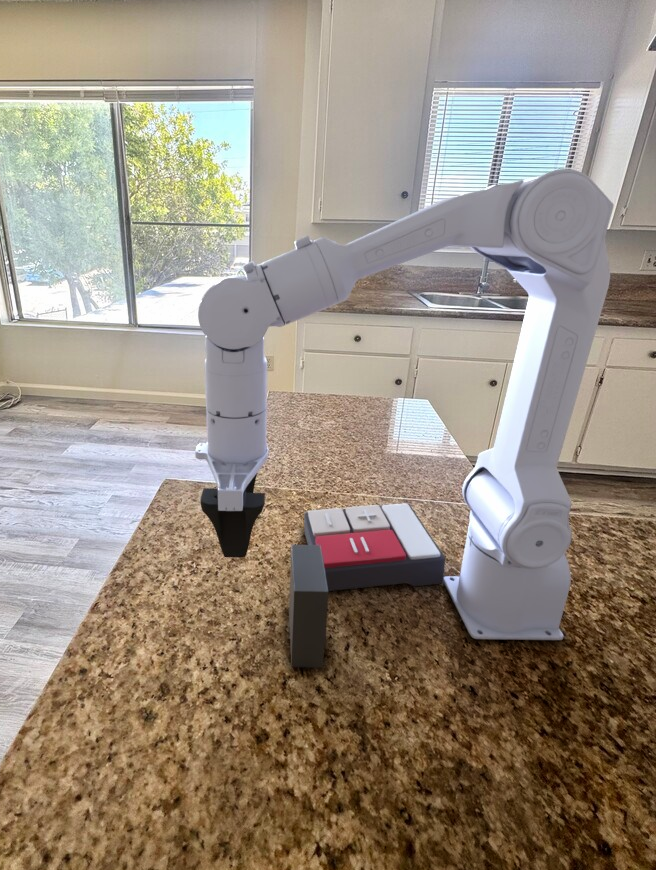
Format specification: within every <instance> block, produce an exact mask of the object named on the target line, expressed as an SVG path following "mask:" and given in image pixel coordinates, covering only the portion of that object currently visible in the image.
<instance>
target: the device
mask: <svg viewBox="0 0 656 870" xmlns="http://www.w3.org/2000/svg"><path fill="white" fill-rule="evenodd" d="M289 575H290V576H289V603H288V605H289V606H288V622H289V623H288V624H289V646H290V666H291V667H290V668H318V669H319V668H320V669H321V668H323V667H324V657H325V656H324V655H325V650H326V638H327V637H326V636H327V625H328V624H327V623H328V622H327V621H328V608H329V592H330V591H328V586H327V580H326V574H325V567H324V561H323V555H322V551H321V546H320V545H308V544H291V545H290V573H289Z"/></svg>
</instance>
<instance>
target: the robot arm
mask: <svg viewBox="0 0 656 870" xmlns="http://www.w3.org/2000/svg"><path fill="white" fill-rule="evenodd" d="M613 210H614V203H613V201H611V199H610V198H609V197H608V196H607V195H606V194H605V193H604V192H603V190H602V189H601V188H600V187H599V186H598V185H597V184H596V183H595V181H594V180H593V179H592V178H591V177H590V176H588V175H587V174H586V173H583V172H582V171H579V170H576V169H571V168H559V169H554V170H551V171H547V172H546V173H543V174H541V175H538V176H535V177H531V178H527V179H523V180H518V181H514V182H510V183H503V184H495V185H490V186H488V187H486V188H484V189H481V190H476V191H472V192H469V193H465V194H460V195H455V196H452V197H448V198H444V199H441V200H439V201H437V202H434V203H432V204H430V205H428V206H426V207H424V208H422V209H419V210H417V211H415V212H413V213H411V214H408V215H406V216H404V217H402V218H400V219H397V220H395V221H393V222H391V223H389V224H387V225H384V226H382V227H380V228H378V229H376V230H374V231H372V232H370V233H368V234H365V235H363V236H361V237H358V238H356V239H354V240H352V241H350V242H348V243H346V244H341V243H338V242H336V241H335V240H332V239H330V238H328V237H325V236H322V237H319V238H317V239H314V240H311V237H310V236H309V235H306V236H303V237H301V238H298V239H296V240H295V241H294V246H295V248H294V249H291V250H289V251H286V252H285V253H282V254H280V255H277V256H274V257H272V258H270V259H268V260H265V261H263V262H261V263H259V264H255V262H254V260H252V261H250V262H247V263H245V264H243V265H242V270H243V272H244V275H245V276H244V275H239V274H238V275H236V274H235V275H229V276H226V277H224V278H222V279H220V280H219V281H217V282H216V283H214V284H213V285H212V286H211V287H209V288H208V289H207V290H206V292H205V293H204V294H203V296H202V298H201V300H200V302H199V306H198V311H197V316H198V317H197V319H198V323H199V326H200V329H201V331H202V333H203V334H204V336H205V341H204V351H205V359H204V384H205V385H204V386H205V387H204V389H205V391H204V392H205V410H206V416H205V417H206V441H207V442H206V443H205V442H202V443H199V444H197V445H196V447H195V451H194V457H195V458H196V459H197V460H205V461H206V462H207V465H208V467H209V469H210V472H211V474H212V477H213V478H214V481H215V483H216V486H217V487H215V488H214V487H211V488H210V487H209V488H206V487H205V488H202V492H201V495H200V499H199V500H200V508H201V511H202V513H203V514H204V515H205V516H206V517H207V518H208V519H209V521H210V523H211V524H212V526H213V528H214V531H215V533H216V536H217V540H218V543H219V547H220V550H221V552H222V555H223V557H224V558H238V559H239V558H240V559H241V558H246V556H247V553H248V550H249V546H250V542H251V536H252V533H253V532H252V531H253V529H254V525H255V523H256V521H257V519H258V517H259V516H260V515H261V514H262V512H263V509H264V508H265V504H266V493H265V492H254V491H255V485H256V480H257V475H258V473H259V471H260V470H261V468H262V467H263V466H264V465H265V463H266V462H267V460H268V459H269V450H270V449H269V445H268V444H267V441H268V439H267V436H268V435H267V431H268V427H267V426H268V425H267V424H268V416H267V415H268V359H267V358H266V355H265V335H266V333H267V331H268V329H269V327H278V328H283V327H284V326H286V325H290V324H292V323H295V322H298V321H299V320H302V319H305V318H307V317H309V316H311V315H312V316H313V315H314V314H316V313H318V312H319V313H320V312H321V311H323V310H326V309H329V308H332V307H334V306H336V305H339V304H342V303H344V302H345V301H347V300H348V299H349V297H350V295H351V293H352V291H353V289H354V287H355V285H356V283H357V282H358V281H359V280H361V279H364V278H365V277H369V276H371V275H375V274H376V273H379V272H382V271H385V270H387V269H390V268H393V267H396V266H398V265H402V264H404V263H406V262H409V261H412V260H415V259H417V258H420V257H422V256H423V257H424V256H425V255H428V254H431V253H433V252H436V251H439V250H442V249H444V248H446V247H454V248H455V247H457V248H470V249H471V250H472V251H473V252H475V253H476V254H478V255H479V256H481V257H483V258H485V259H486V260H489V261H491V262H493V263H495V264H497V265H498V266H500V267H502V268H504V269H505V270H506V271H507V272H508V273H509V274H510V275H511V276H512V277H513V279H515V281H516V282H517V283H518V284H519V285H520V286H521V287H522V288H523V289H524V291H526V293H527V295H528V300H527V304H526V307H525V312H524V316H523V321H522V325H521V330H520V334H519V338H518V342H517V347H516V351H515V355H514V360H513V364H512V367H511V368H512V369H511V371H510V372H511V373H510V377H509V381H508V385H507V388H506V393H505V398H504V402H503V407H502V410H501V415H500V420H499V422H498V427H497V431H496V436H495V440H494V444H493V447H492V448H488V449H486V450H483V451H481V452H479V453H478V454H477V460H476V463H475V465H474V467H473V469H472V470H471V471H470V473H469V474H468V475H467V476H466V478H465V479H464V482H463V483H462V487H461V493H462V498H463V500H464V502H465V504H466V505H467V506H468V508H469V509H470V510H469V517H468V519H469V521H468V522H469V523H468V528H467V533H466V540H465V545H464V549H463V557H462V562H461V566H460V573H459V576H458V575H457V576H454V575H453V576H449V575H447V576H446V575H444V577H443V582H442V583H443V584H444V586H445V589H446V590H447V592H448V594H449V596H450V598H451V600H452V602H453V604H454V607H455V608H456V610H457V612H458V614H459V616H460V617H461V621H462V622H463V624H464V626H465V628H466V630H467V632H468V634H469V635H470V637H471V638H472V639H474V640H513V641H515V640H516V641H517V640H518V641H519V640H520V641H521V640H523V641H524V640H525V641H562V640H563V639H564V636H565V635H564V633H563V631H562V630H561V629H560V626H561V622H562V618H563V614H564V612H565V611H564V610H565V607H566V604H567V600H568V596H569V592H570V589H571V583H572V575H571V574H572V573H571V568H570V564H569V561H568V558H567V556H566V552H567V551H568V549H569V548H570V546H571V542H572V537H573V536H572V535H573V534H572V528H571V524H570V521H569V519H570V511H571V508H572V505H573V504H572V500H571V497H570V495H569V493H568V490H567V488H566V486H565V484H564V481H563V479H562V477H561V475H560V472H559V470H558V469H559V468H558V464H559V461H560V458H561V454H562V450H563V447H564V444H565V440H566V436H567V434H568V433H567V432H568V430H569V426H570V422H571V419H572V415H573V412H574V408H575V405H576V401H577V398H578V394H579V391H580V388H581V384H582V380H583V377H584V374H585V370H586V367H587V363H588V360H589V356H590V353H591V350H592V345H593V342H594V339H595V336H596V331H597V329H598V324H599V321H600V318H601V314H602V311H603V308H604V304H605V300H606V297H607V294H608V290H609V286H610V281H611V269H610V263H609V255H608V249H607V243H606V234H607V232H608V228H609V225H610V224H609V223H610V221H611V217H612V213H613Z"/></svg>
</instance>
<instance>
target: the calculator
mask: <svg viewBox="0 0 656 870" xmlns="http://www.w3.org/2000/svg"><path fill="white" fill-rule="evenodd" d="M303 525H304V526H303V527H304V529H303V530H304V531H303V532H304V535H305V539H306V545H320V546H321V551H322V555H323V561H324V567H325V574H326V580H327V586H328V592H332V591H333V592H334V591H343V590H351V589H352V590H353V589H361V588H372V587H380V586H391V585H392V586H393V585H401V584H408V585H410V586H412V587H421V586H429V585H430V586H431V585H441V584H442V583H444V582H443V578H444V577H445V566H446V557H445V555H444V554H443V552H442V550H441V549H440V548H439V546H438V544H437V543H436V542H435V540H434V539H433V536H432V535H431V534H430V532H429V531H428V529H427V528H426V527H425V525H424V524H423V522H422V520H421V519H420V518H419V516H418V515H417V513H416V512H415V510H414V508H413V507H412V506H411V504H410V503H407V502H406V503H405V502H403V503H394V504H393V503H392V504H382V505H379V504H369V505H357V506H347V507H345V508H342V507H335V508H323V509H314V510H313V509H312V510H311V509H310V510H308V511H307V512H305V513H304V514H303Z"/></svg>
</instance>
